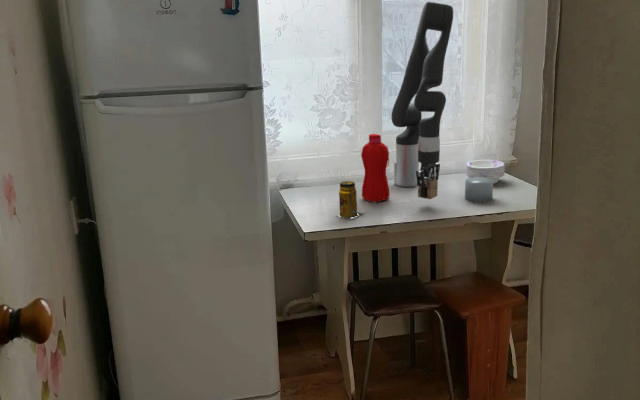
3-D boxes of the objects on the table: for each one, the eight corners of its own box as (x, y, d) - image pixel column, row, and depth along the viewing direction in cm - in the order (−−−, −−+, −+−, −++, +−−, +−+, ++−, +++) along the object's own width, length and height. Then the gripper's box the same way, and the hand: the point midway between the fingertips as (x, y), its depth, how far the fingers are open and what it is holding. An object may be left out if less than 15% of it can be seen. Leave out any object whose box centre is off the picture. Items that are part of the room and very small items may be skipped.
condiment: (334, 216, 211) (333, 183, 208) (349, 210, 218) (348, 178, 214) (351, 220, 207) (350, 186, 204) (365, 213, 213) (365, 181, 210)
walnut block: (418, 197, 217) (418, 181, 215) (424, 193, 220) (425, 177, 219) (430, 199, 214) (431, 183, 212) (437, 195, 217) (437, 179, 216)
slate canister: (460, 200, 224) (461, 182, 222) (471, 193, 232) (471, 176, 230) (486, 204, 219) (487, 185, 217) (496, 197, 226) (497, 179, 224)
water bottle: (396, 198, 229) (396, 133, 222) (372, 204, 224) (371, 137, 217) (381, 193, 237) (381, 130, 230) (358, 198, 232) (357, 134, 224)
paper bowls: (459, 179, 253) (459, 161, 251) (492, 176, 257) (492, 157, 254) (476, 188, 239) (477, 168, 237) (511, 184, 242) (512, 165, 240)
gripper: (428, 143, 219) (427, 188, 224) (409, 151, 208) (408, 198, 214) (447, 145, 215) (446, 191, 220) (428, 153, 204) (427, 201, 209)
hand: (427, 194), depth 217 cm, fingers closed on walnut block, 5 cm apart
